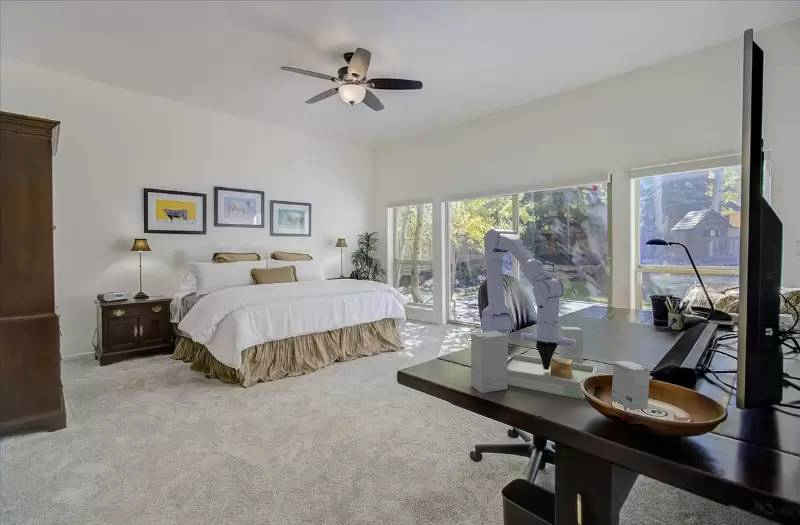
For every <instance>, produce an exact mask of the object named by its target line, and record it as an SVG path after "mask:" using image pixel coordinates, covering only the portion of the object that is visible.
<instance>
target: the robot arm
mask: <svg viewBox="0 0 800 525" xmlns="http://www.w3.org/2000/svg"><path fill="white" fill-rule="evenodd" d="M483 247H484V248H483V249H484V256H485V257H484V258H485V271H486V272H485V273H486V288H487V302H488V303H487V304H488V305H487V306H486V307H485V308H483V310H482V311H481V319H480V327H481V330H482V332H488V331H498V332H500V333H503V334H506V335H508V336H509V335H510V334H511V333H510V332H511V331H512V330H513V329H514V326H515V325H514V324H515V323H514V319H513V315H512V311H511V309H510V308H509V307H508V305H506V303H505V290H504V289H505V287H504V276H503V275H504V273H503V257H504V256H505V255H508V254H509V253H510V254H511V255H512V256H513V257H514V258H515V259H516V260H517V261H518V262H519V264H520V266H522V268H521V272H522V274H523V275H524V276H525V278H526V280H528V281H529V283H530V284H531V285H532V292H533V296H534V298H535V304H536V333H530V332H529V333H528V332H527V333H526V332H521V333H520V334H519V341H522V342H524V341H527V342H534V343H536V345H535V348H536V349H537V352H538V353H539V357H540V358H541V359H542V363H543V369H546V370H548V369H549V367H550V362H551V359H553V357H554V356H553V355H554V353H555V351H556V349H557V348H558V346H560V345H563V346H570V347H574V348H575V344H576V339H570V338H565V337H560V335H559V320H560V319H559V316H560V315H559V312H560V311H559V310H560V298H561V297H562V296H563V295H564V293H565V287H564V284H563V282H562V281H561V279H560V278H557V277H554V276H552V274H551V273H550V272H548V270H547V269H546V268H545V267H544V265H543V263H542V261H541V260H538V259H533V258H532V257H531V255H530V253H529V252H528V250H527V249H526V248H525V246H524V244H523V242H521V235H519V234H518V232H517V231H516V230H515V229H495V228H490V229H489V230H487V232H486V233H485V235H484V236H483ZM511 359H512V357H511V356H508V362H509V361H510V360H511Z"/></svg>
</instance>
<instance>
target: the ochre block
mask: <svg viewBox="0 0 800 525" xmlns="http://www.w3.org/2000/svg"><path fill="white" fill-rule="evenodd" d="M572 362H573V360H570V359H564V358H560V357H557V356H552V360H551V371H550V376H556V377H561V378H567V379H570V378H571V376H572Z"/></svg>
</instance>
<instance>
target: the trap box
mask: <svg viewBox="0 0 800 525" xmlns="http://www.w3.org/2000/svg"><path fill="white" fill-rule="evenodd" d="M552 359H553V358H552ZM552 359H551V360H552ZM550 371H551V362H550V367H549V369H548V370H546V369H543V363H542V359H541V356H534V355H533V356H531V355H525V354H521V353H520V354H519V353H514V354H513V359H512V360H511V361H510V362H509V363H508V381H507V386H513V387H517V388H518V387H519V388H523V389H530V390H534V391H539V392H545V393H547V394H548V393H549V394H553V395H554V394H555V395H560V396H565V397H569V398H575V397H576V398H575V399H579V398H582V399H581V400H584V397H583V395H582V393H581V391H580V388H579V384H580V383H581V382H580V381H581V380H582V379H584V378H585V377H587V376H590V375H591V376H592V375H596V374H598V373H599V372H598V371H599V366H597V365H591V364H585V363H583V364H579V363H573V362H572V376H571V378H570V379H567V378H561V377H556V376H550Z"/></svg>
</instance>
